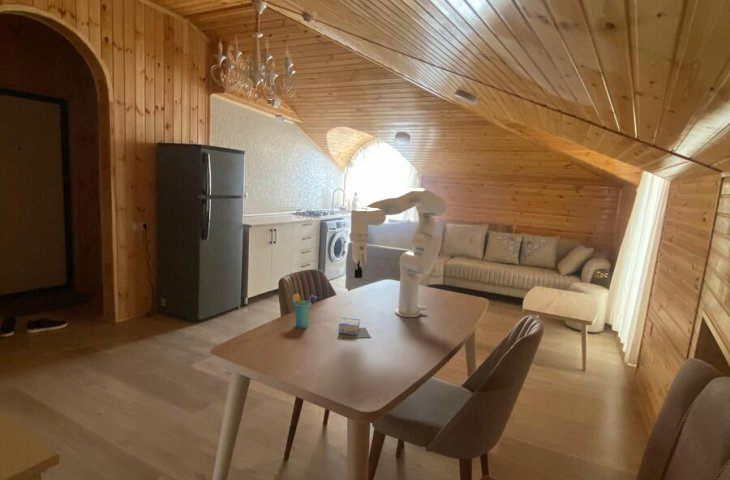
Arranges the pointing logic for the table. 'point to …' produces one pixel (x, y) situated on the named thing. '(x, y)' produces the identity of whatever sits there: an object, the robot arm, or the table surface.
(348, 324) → the medicine box
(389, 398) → the table surface
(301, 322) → the cup
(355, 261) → the robot arm
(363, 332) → the mat
